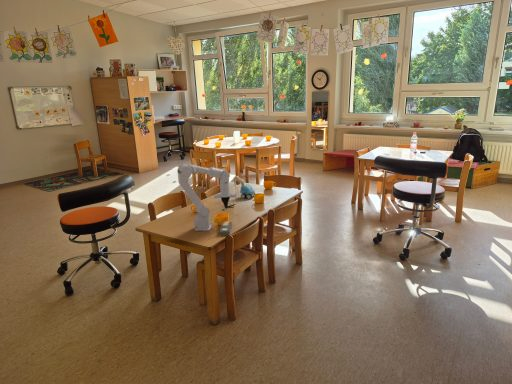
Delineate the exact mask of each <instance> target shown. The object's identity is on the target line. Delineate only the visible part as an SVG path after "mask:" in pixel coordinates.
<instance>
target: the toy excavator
mask: <svg viewBox="0 0 512 384" xmlns="http://www.w3.org/2000/svg"><path fill="white" fill-rule="evenodd" d="M233 182H234V183H237V182H238V183H240V184H241V186H240V190H239V193H240V198H241V199H246V198H247V199H248V200H251V199H252V198H253V196H254V195H255V196H256V192H255V190H254V189H253V187H252V185H251V184H248V183H247V184H245V181H244V180H243V179H242V178H240V177H239V175H236V176H234V177H233ZM255 196H254V197H255Z"/></svg>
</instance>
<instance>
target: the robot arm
mask: <svg viewBox="0 0 512 384" xmlns="http://www.w3.org/2000/svg"><path fill="white" fill-rule="evenodd" d="M196 173H202V174H207V175H208V176H209V177H213V178H217V179H219V187H220V193H218V194H214V195H213V199H220V201H221V202H222V204H223V206H224V209H228V206H229V202H230V199H231V198H237V197H238V195H237V193H231V192H230V181H229V180H230V177H231V174H230V173H229V171H227V170H225V169H224V168H222V167H221V168H216V166H210V167H208V168H207V167H203V166H199V165H196V164H191V163H190V164H189V163H187V164H186V163H180V164H179V165H178V168H177V178H178V179H177V180H178V181H177V183H178V184H179V185H180V187H181V188H182V190H183V192H185V194H186V195H187V197H188V198H189V199H190V200H191V202H192V203H193V205H194V208H195V212H196V213H197V214H195V215H194V217H193V223H194V231H195V232H198V231H199V232H200V231H204V232H205V231H210V230H211V227H212V224H211V222H210V213H211V210H210V209H209V207H208V206H206V205H205V204H204V203H203V202H202V200H201V198H200V197H199V196H198V195H197V193H196V192H195V190H194V189H193V188H192V186H191V185H190V183H189V179H190V177H191V176H192V174H194V175H195V174H196Z"/></svg>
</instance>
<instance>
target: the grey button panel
mask: <svg viewBox="0 0 512 384" xmlns="http://www.w3.org/2000/svg"><path fill="white" fill-rule="evenodd" d="M224 222H225V221H222V222H221V226H220V228H219V236H230V234H231V232H232V228H233V221H229V222H230V224H228V225H229V227H228V228H227V229H228V231H222V229H223V224H224Z"/></svg>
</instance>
